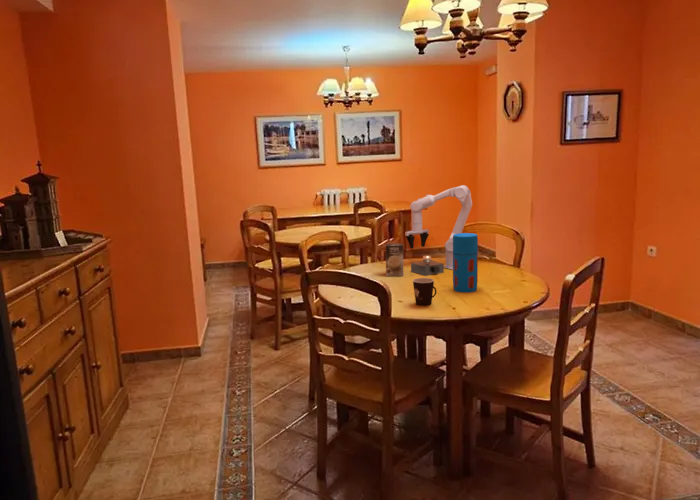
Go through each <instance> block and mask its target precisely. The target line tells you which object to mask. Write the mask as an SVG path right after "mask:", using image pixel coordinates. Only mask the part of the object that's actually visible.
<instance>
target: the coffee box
mask: <svg viewBox="0 0 700 500" xmlns="http://www.w3.org/2000/svg"><path fill="white" fill-rule="evenodd" d="M385 277H404V243H385Z"/></svg>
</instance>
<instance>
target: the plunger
mask: <svg viewBox="0 0 700 500" xmlns="http://www.w3.org/2000/svg"><path fill="white" fill-rule="evenodd" d="M431 260H432V256H431V255H423V256H422V261H424V262H426V264H428V262H430V261H431Z"/></svg>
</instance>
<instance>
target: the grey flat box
mask: <svg viewBox="0 0 700 500" xmlns="http://www.w3.org/2000/svg"><path fill="white" fill-rule="evenodd" d="M444 266H445V263H443V262H439V261H435V260H432V259H431V261H430V262H428V264H426V262H424V261H423V260H421V261H420V260H419V261H415V262H410V272H411V273H414V274H417V275H421V276H424V277H425V276H427V277H428V276H432V274H433V275H438V274H443V273H444V272H445V271H444V270H445V269H444Z"/></svg>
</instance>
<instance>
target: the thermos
mask: <svg viewBox="0 0 700 500" xmlns="http://www.w3.org/2000/svg"><path fill="white" fill-rule="evenodd" d="M478 246H479V241H478V234H476V233H472V232H471V233H470V232H469V233H468V232H464V233H463V232H462V233H459V234H454V235H453V269H452V287H453V288H452V289H453V291H454V292H456V293H457V292H458V293H463V294H466V293H474V292H477V291H478V275H479V273H478V270H479V269H478V268H479V267H478V263H479V262H478V261H479V258H478V257H479V253H478V251H479V249H478V248H479V247H478Z"/></svg>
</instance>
